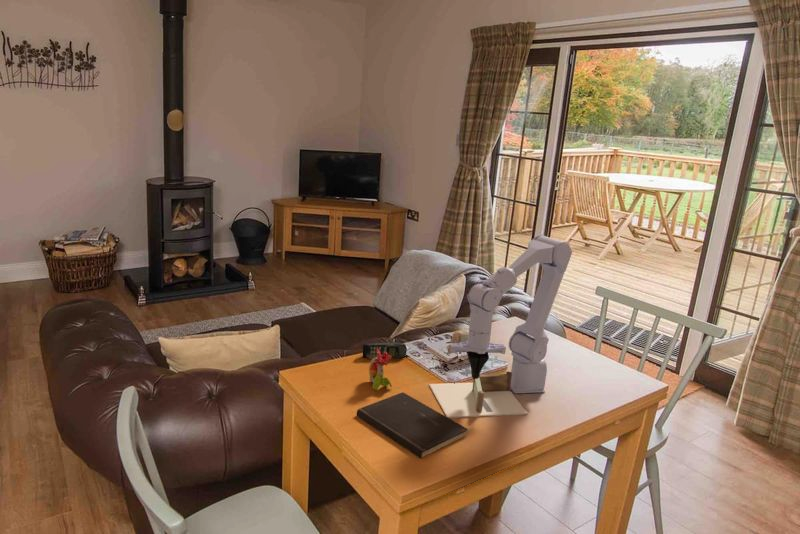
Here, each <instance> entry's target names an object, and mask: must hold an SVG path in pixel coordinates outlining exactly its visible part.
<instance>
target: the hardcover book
mask: <svg viewBox="0 0 800 534" xmlns="http://www.w3.org/2000/svg"><path fill="white" fill-rule="evenodd" d="M356 417H357V418H359V419H360V420H362V421H364V422H365V423H366V424H368V425H370V426H371V427H373V428H374V429H376V430H377V431H378V432H380V433H382V434H383V435H384V436H386V437H388V438H390V440H392V441H394V442H395V443H397V444H398V445H400V446H401V447H403V448H404V449H406V451H409V452H410V453H412V454H413V455H415V456H417V457H418V458H419V459H422V458H423V457H425V456H427V455H430V454H431V453H433V452H435V451H437V449H438V450H439V449H441V447H442V448H443V447H446V446H447V445H450V444H451V443H453V442H455V441H458V440H460V439H461V438H464V437H465V436H466V435H467V434H466V433H467V432H468V431H469V429H468V428H467V427H465V426H463V425H462V424H460V423H459V422H456V421H454V420H452V418H448V417H446V415H445V414H442V413H440V412H439V411H437V410H435V409H434V408H432V407H430V406H429V405H426V404H424V403H422V402H421V401H420V400H418V399H416V398H414V397H412V396H411V395H409V394H407V393H405V392H403V391H402V392H400V393H396V394H394V395H391V396H389V397H387V398H384V399H382V400H379V401H378V400H377V401H376V402H374V403H371V404H369V405H366V406H362V407H359V408H358V409H357V410H356Z"/></svg>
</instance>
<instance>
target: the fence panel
mask: <svg viewBox="0 0 800 534" xmlns="http://www.w3.org/2000/svg"><path fill="white" fill-rule="evenodd" d="M474 398H475V403H476V411H477V412H482V408H483V399H484V392H483V391H482V387H481V383H480V378H478V379H475V383H474Z"/></svg>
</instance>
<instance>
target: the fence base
mask: <svg viewBox="0 0 800 534" xmlns="http://www.w3.org/2000/svg"><path fill="white" fill-rule="evenodd" d="M511 377H512V373H511V371H506V372H505V373H498V374H497V373H493V374H481V373H480V374H479V377H478V378H480V383H481V387H482V391H494V390H506V391H510V392H511V388H510V385H511ZM474 383H475V379H473V389H472V391H474Z"/></svg>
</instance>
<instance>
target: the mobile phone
mask: <svg viewBox="0 0 800 534" xmlns="http://www.w3.org/2000/svg"><path fill="white" fill-rule="evenodd" d="M377 349H379V352H380V354H381V355H382V354H383V353H384V352H387V354H388V355H391V356H392V357H391V358H390V359H392V360H393V359H401V358H404V357H406V356H405V355H406V354H407V350H408V349H407V346H406V344H405V343H404V342H396V341H394V342H393V341H381V342H380V341H372V342H369V341H368V342H364V343H363V344H362V358H364V359H373V358H376V357H377V358H378V355H377V353H376V351H377ZM390 359H389V360H390Z"/></svg>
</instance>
